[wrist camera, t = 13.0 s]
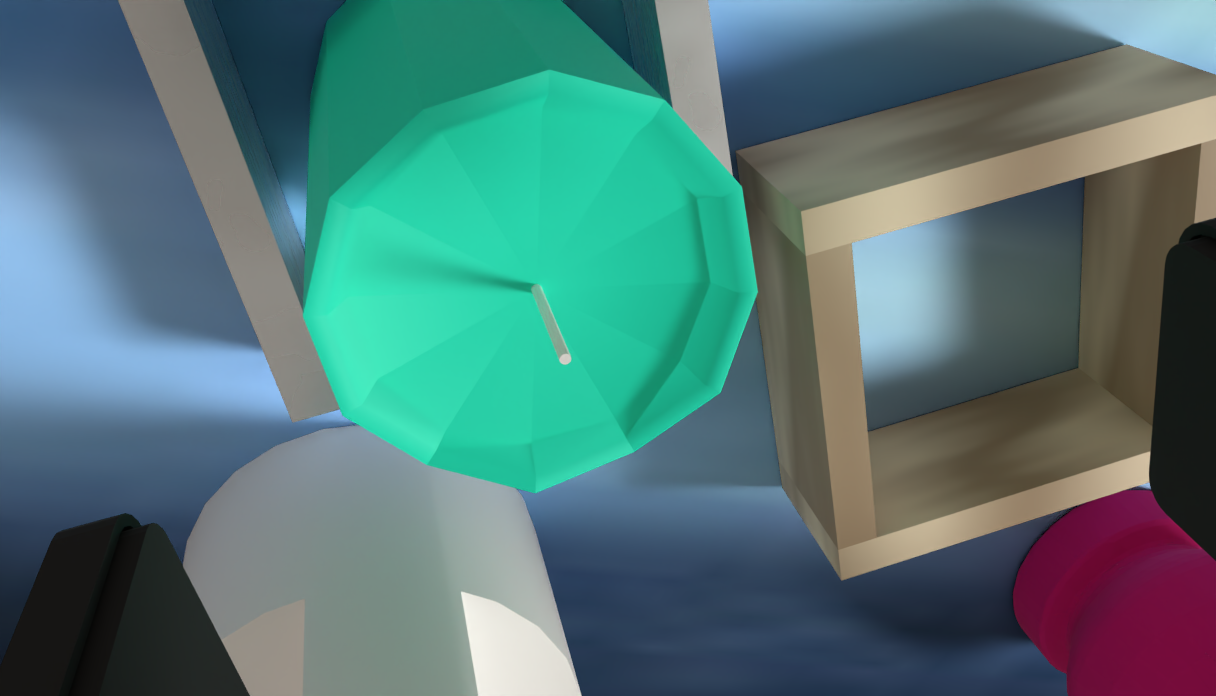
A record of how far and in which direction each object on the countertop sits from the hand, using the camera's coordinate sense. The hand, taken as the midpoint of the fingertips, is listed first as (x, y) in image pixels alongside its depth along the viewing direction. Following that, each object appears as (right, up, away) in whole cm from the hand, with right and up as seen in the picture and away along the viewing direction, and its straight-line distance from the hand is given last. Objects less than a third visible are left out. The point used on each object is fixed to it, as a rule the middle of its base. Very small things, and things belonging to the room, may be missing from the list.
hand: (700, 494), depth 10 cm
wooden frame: (+8, +3, +18) cm, 20 cm away
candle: (-4, +7, +13) cm, 15 cm away
